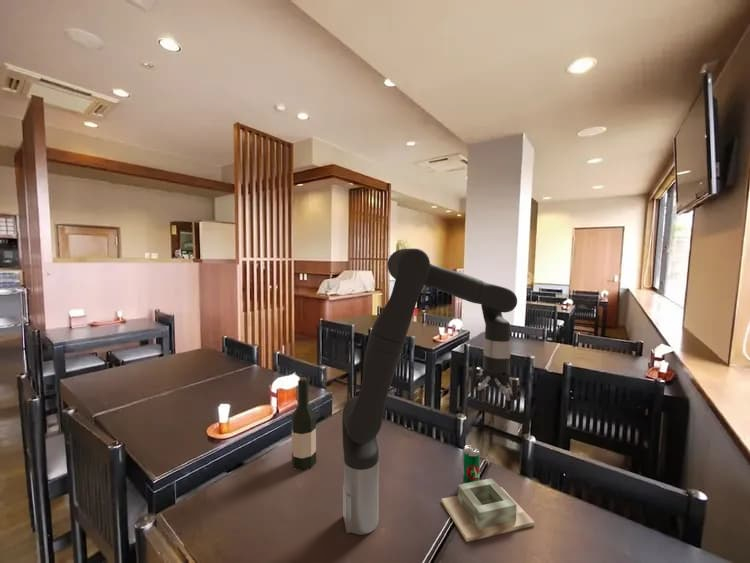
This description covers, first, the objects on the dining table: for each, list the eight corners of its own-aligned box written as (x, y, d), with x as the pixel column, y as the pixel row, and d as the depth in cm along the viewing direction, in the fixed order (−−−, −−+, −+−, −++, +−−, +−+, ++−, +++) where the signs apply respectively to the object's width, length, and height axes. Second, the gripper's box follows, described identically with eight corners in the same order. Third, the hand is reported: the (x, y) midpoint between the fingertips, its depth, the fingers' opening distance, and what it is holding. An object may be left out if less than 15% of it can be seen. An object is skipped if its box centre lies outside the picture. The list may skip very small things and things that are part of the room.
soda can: (466, 478, 105) (467, 442, 104) (481, 485, 101) (482, 447, 101) (459, 486, 101) (460, 449, 100) (475, 493, 98) (476, 455, 97)
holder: (466, 541, 81) (466, 520, 80) (441, 501, 94) (441, 483, 94) (534, 525, 86) (534, 505, 85) (501, 489, 99) (501, 472, 99)
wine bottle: (321, 462, 113) (320, 378, 111) (301, 473, 107) (299, 384, 105) (307, 453, 119) (306, 372, 117) (287, 463, 113) (285, 378, 111)
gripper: (469, 350, 100) (467, 402, 101) (513, 361, 90) (511, 419, 90) (482, 347, 105) (480, 396, 106) (526, 357, 94) (524, 411, 95)
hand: (494, 406), depth 98 cm, fingers open, 8 cm apart
